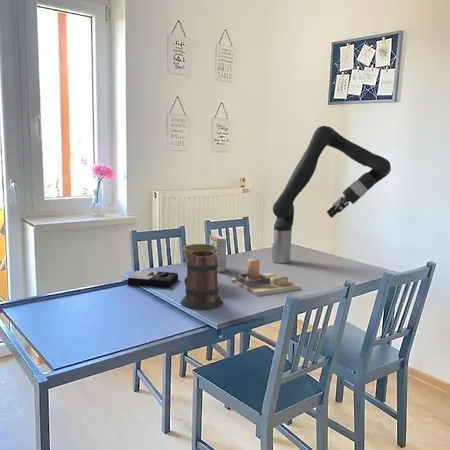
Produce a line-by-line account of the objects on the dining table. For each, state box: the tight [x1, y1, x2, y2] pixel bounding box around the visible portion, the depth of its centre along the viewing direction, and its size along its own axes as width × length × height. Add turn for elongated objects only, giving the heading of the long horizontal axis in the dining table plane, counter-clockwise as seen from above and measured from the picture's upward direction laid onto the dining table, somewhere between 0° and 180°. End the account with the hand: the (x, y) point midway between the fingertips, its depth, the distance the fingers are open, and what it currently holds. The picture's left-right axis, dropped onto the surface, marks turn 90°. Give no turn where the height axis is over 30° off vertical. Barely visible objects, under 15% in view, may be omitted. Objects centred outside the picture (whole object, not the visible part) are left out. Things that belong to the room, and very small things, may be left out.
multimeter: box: [127, 269, 179, 289], centre depth 207 cm, size 13×19×5 cm
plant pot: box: [182, 243, 217, 267], centre depth 207 cm, size 15×15×16 cm
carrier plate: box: [230, 272, 301, 297], centre depth 206 cm, size 22×22×4 cm
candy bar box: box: [208, 234, 227, 273], centre depth 229 cm, size 11×5×16 cm, turn 22°
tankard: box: [180, 251, 224, 311], centre depth 184 cm, size 24×17×20 cm
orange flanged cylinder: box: [246, 258, 260, 281], centre depth 204 cm, size 6×6×10 cm
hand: (328, 214), depth 222 cm, fingers open, 8 cm apart
